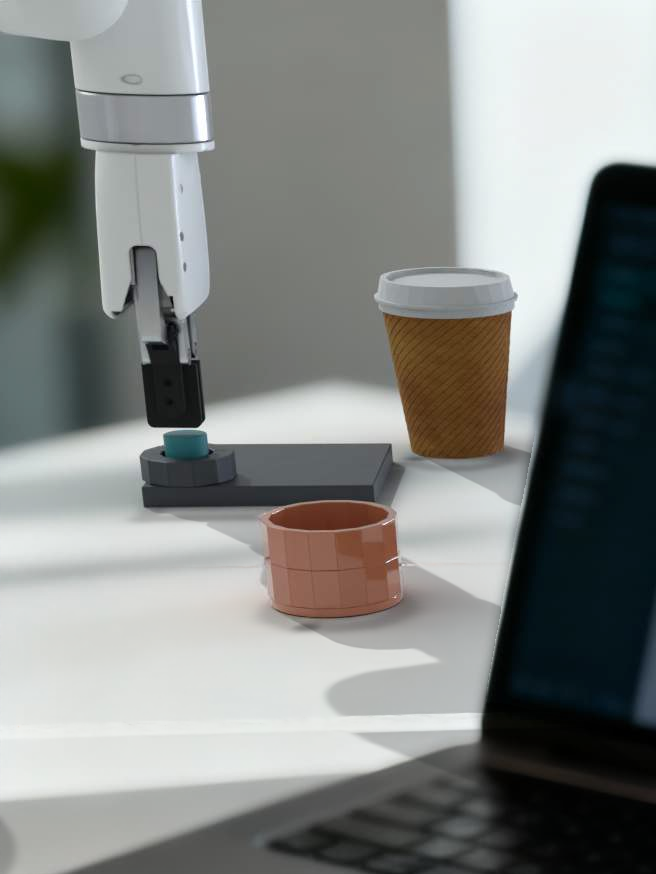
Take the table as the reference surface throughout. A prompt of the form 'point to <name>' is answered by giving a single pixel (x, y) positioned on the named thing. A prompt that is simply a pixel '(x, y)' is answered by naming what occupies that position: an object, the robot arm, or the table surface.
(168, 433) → the button
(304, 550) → the pink cylindrical container
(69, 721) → the table surface
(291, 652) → the table surface
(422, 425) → the disposable coffee cup
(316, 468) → the dark grey flat block
